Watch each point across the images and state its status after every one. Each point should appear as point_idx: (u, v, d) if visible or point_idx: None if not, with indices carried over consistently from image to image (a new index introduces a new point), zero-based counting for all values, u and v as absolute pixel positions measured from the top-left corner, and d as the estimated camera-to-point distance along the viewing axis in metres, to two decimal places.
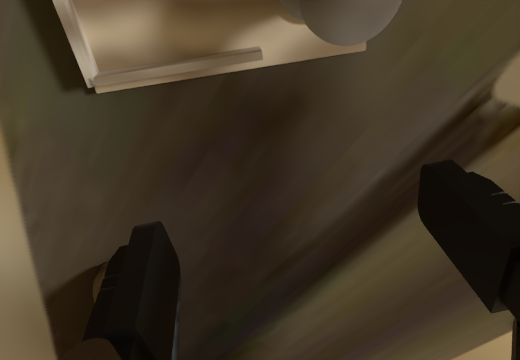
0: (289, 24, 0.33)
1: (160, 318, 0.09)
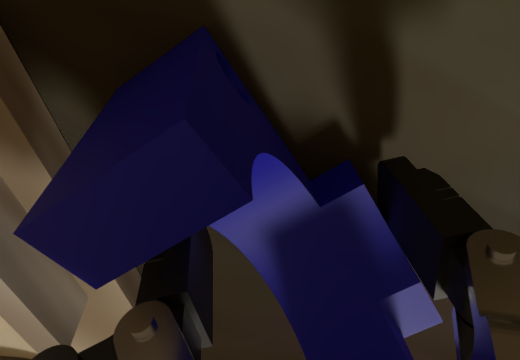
0: None
1: (202, 288, 0.09)
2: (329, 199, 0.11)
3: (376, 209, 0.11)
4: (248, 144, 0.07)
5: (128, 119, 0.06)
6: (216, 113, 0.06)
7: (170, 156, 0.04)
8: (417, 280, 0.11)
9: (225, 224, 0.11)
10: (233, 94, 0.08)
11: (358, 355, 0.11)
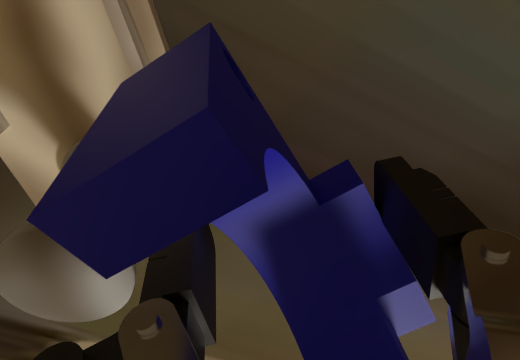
0: (53, 157, 0.26)
1: (206, 287, 0.09)
2: (329, 198, 0.11)
3: (374, 208, 0.11)
4: (258, 138, 0.07)
5: (141, 110, 0.06)
6: (231, 106, 0.06)
7: (191, 143, 0.04)
8: (413, 279, 0.11)
9: (226, 221, 0.11)
10: (241, 90, 0.08)
11: (354, 353, 0.11)
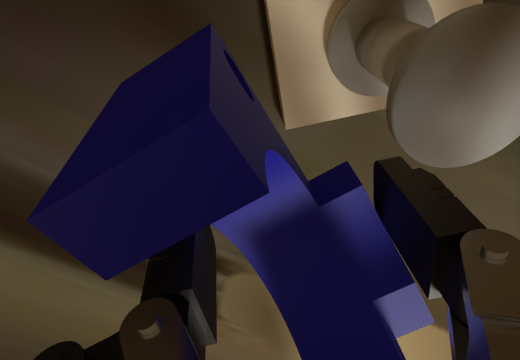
0: (324, 13, 0.22)
1: (206, 286, 0.09)
2: (328, 199, 0.11)
3: (373, 210, 0.11)
4: (258, 140, 0.07)
5: (142, 111, 0.06)
6: (232, 107, 0.06)
7: (192, 145, 0.04)
8: (411, 280, 0.11)
9: (225, 221, 0.11)
10: (241, 91, 0.08)
11: (353, 354, 0.11)
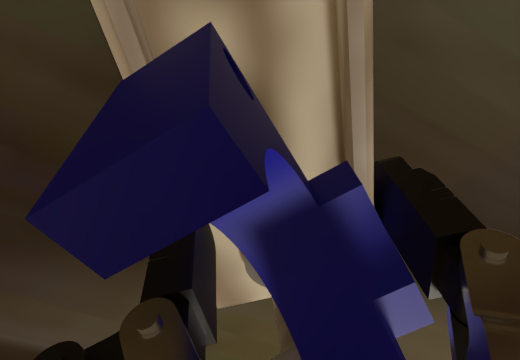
0: None
1: (206, 286, 0.09)
2: (328, 198, 0.11)
3: (373, 209, 0.11)
4: (258, 138, 0.07)
5: (141, 109, 0.06)
6: (231, 105, 0.06)
7: (191, 143, 0.04)
8: (411, 280, 0.11)
9: (224, 221, 0.11)
10: (241, 90, 0.08)
11: (352, 354, 0.11)
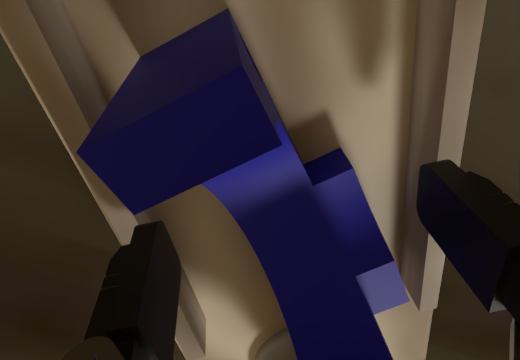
0: (247, 345, 0.19)
1: (161, 317, 0.09)
2: (322, 179, 0.12)
3: (362, 192, 0.12)
4: (270, 109, 0.08)
5: (172, 73, 0.07)
6: (252, 74, 0.07)
7: (224, 96, 0.05)
8: (392, 259, 0.12)
9: (226, 193, 0.12)
10: (254, 69, 0.09)
11: (334, 323, 0.12)
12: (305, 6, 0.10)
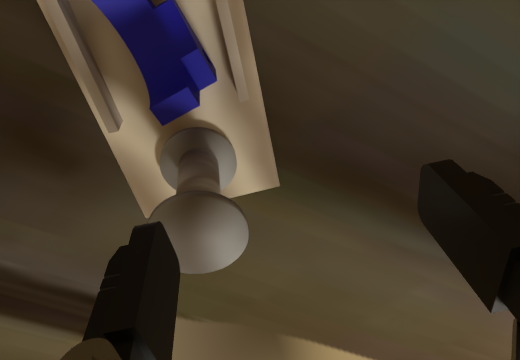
0: (153, 147, 0.32)
1: (160, 318, 0.09)
2: (157, 6, 0.24)
3: (179, 14, 0.25)
4: None
5: None
6: None
7: None
8: (196, 47, 0.25)
9: (107, 10, 0.24)
10: None
11: (168, 80, 0.25)
12: None
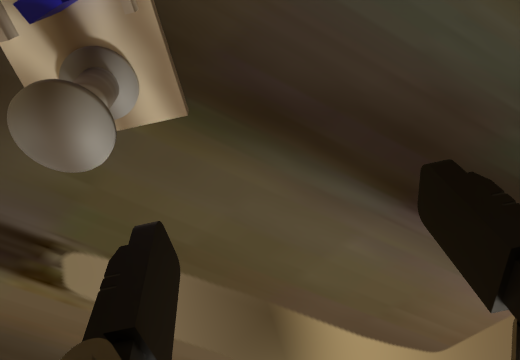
0: (53, 66, 0.33)
1: (160, 318, 0.09)
2: None
3: None
4: None
5: None
6: None
7: None
8: None
9: None
10: None
11: None
12: None
